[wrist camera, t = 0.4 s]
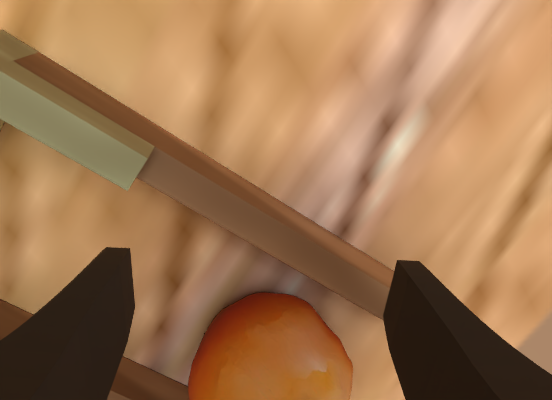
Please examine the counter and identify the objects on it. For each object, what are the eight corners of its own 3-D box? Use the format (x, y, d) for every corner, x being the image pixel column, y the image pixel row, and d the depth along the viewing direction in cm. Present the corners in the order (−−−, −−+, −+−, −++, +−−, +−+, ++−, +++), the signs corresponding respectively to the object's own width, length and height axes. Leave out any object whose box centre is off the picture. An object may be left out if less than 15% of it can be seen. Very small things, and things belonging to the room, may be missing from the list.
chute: (262, 444, 31) (264, 506, 27) (-112, 276, 24) (-175, 327, 21) (411, 282, 26) (437, 330, 23) (2, 29, 20) (-54, 39, 16)
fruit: (130, 345, 25) (182, 424, 18) (245, 249, 28) (328, 287, 21) (211, 441, 28) (282, 540, 21) (308, 346, 31) (398, 406, 24)
